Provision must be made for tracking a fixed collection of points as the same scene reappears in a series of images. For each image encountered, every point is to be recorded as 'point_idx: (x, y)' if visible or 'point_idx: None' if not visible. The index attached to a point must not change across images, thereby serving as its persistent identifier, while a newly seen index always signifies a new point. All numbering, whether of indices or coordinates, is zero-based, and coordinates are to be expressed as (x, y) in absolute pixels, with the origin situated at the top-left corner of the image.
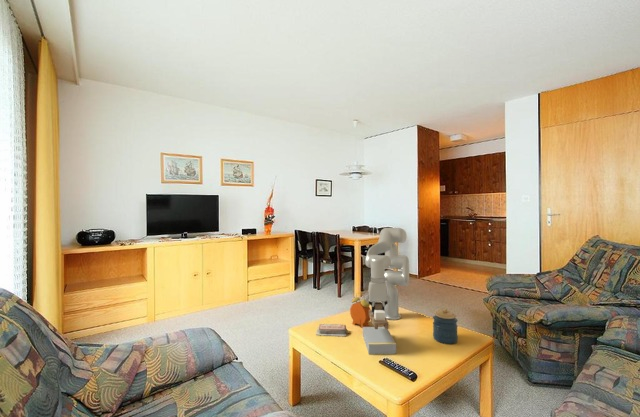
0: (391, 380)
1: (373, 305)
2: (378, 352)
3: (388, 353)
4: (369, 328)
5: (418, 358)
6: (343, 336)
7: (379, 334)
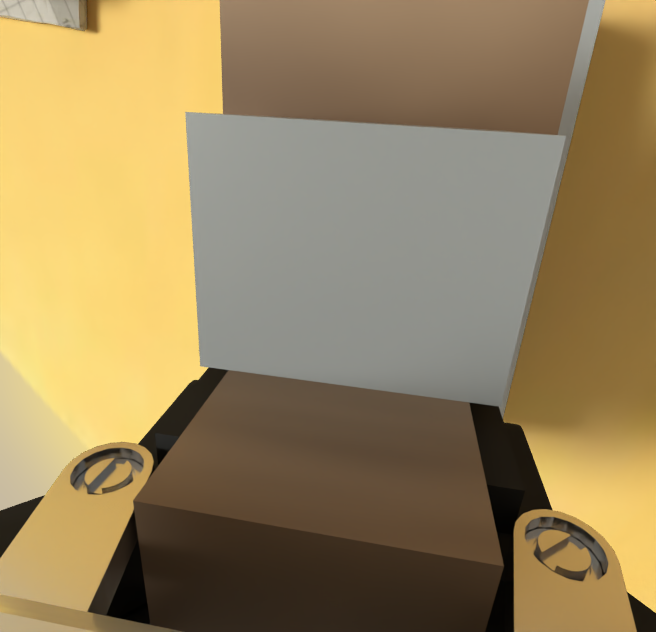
0: None
1: (143, 608)
2: None
3: None
4: None
5: (620, 496)
6: (60, 24)
7: None
